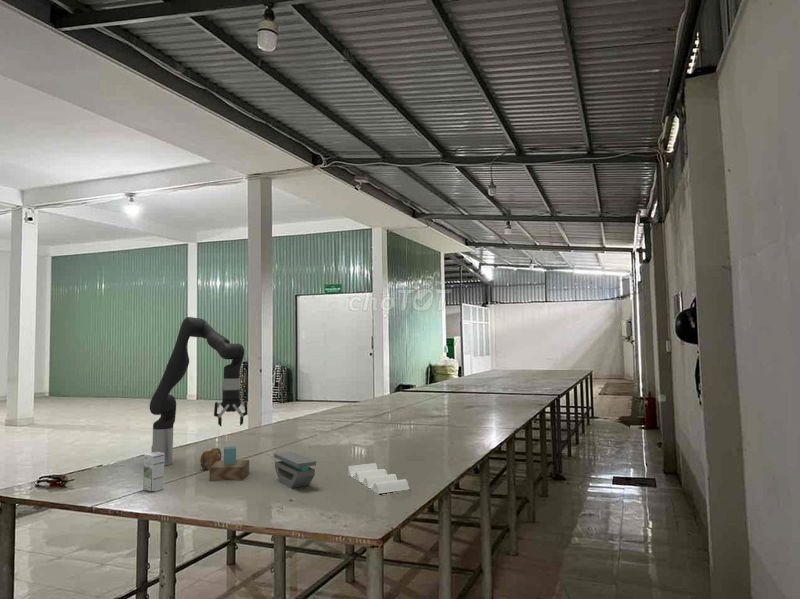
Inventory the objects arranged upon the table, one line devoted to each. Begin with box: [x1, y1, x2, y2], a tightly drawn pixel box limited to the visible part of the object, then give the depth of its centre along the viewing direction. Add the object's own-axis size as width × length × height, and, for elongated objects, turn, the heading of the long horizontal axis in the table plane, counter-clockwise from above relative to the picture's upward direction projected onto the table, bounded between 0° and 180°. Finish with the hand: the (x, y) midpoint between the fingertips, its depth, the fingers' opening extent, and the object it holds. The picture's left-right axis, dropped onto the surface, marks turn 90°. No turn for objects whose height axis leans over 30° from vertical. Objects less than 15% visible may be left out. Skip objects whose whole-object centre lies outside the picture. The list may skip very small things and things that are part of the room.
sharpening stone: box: [273, 451, 317, 489], centre depth 232 cm, size 25×8×11 cm, turn 34°
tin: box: [200, 447, 222, 470], centre depth 264 cm, size 15×3×8 cm, turn 168°
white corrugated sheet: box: [347, 462, 410, 496], centre depth 232 cm, size 13×35×5 cm, turn 25°
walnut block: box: [208, 459, 250, 482], centre depth 245 cm, size 14×14×6 cm
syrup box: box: [143, 452, 165, 492], centre depth 224 cm, size 6×6×14 cm
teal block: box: [223, 445, 237, 465], centre depth 245 cm, size 5×5×7 cm
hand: (230, 425), depth 246 cm, fingers open, 8 cm apart
